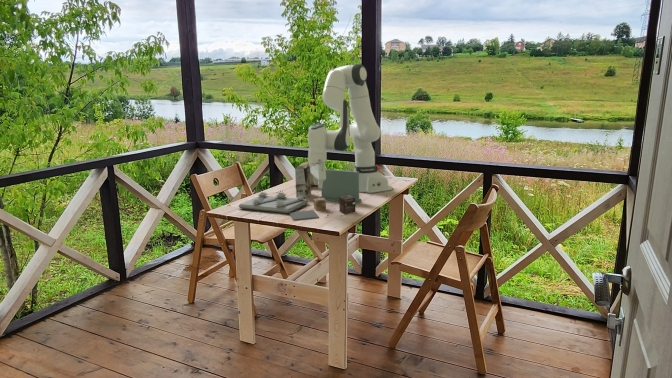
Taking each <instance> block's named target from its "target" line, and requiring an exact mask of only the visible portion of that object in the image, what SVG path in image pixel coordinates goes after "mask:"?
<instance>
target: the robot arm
mask: <svg viewBox="0 0 672 378" xmlns="http://www.w3.org/2000/svg"><path fill="white" fill-rule="evenodd" d="M367 77H368V71H367V69H366V67H365V66H364V65H363V64H360V63H355V64H346V65H342V66H337V67H333V68H332V69H330V70H329V71H328V73H327V76H326V79H325V82H324V86H323V90H322V97H321V98H322V101H323V103H324V104H325V106H326V107H328V108H329V109H332V110H333V111H335V112H338V113H339V128H338V129H336V130H335V129H334V130H333V129H327V128H326V126H325V124H322V123H316V124H311V125H310V126H309V127H308V132H307V133H308V134H307V145H308V150H307V151H308V153H307V160H308V162H309V165H310V172H311V174H312V175H313V178H314V184H315V185H317V187H318V189H321V188H322V185H323V181H324V180H326V164H325V163H327V162H328V161H327V160H328V159H327V153H328V152H327V150H328V151H330V150H332V151H339V152H344V151H346V150H347V149H348V148H349V147H350V145H351V139H352V144H353V148H354V158H355V159H354V161H355V164H354V169H353V170H354V171H356V172H359V193H367V194H372V193H378V192H379V193H380V192H387V191H393V186H392V185H391V184H389V179H388V177H386V176H385V175H383V174H382V173H381V172H379V171H380V170H381V168H382V167H381V166H379V165H376V164H375V163H376V155H375V153H376V152H375V150H374V148H373V145H372V143H374V142H377V140H379V139H380V137H381V134H382V133H381V132H382V130H381V128H380V126H379V124H378V123H377V121H376V119H375V116H374V113H373V111H372V106H371V105H372V104H371V100H370V95H369V89H368V85H367ZM346 88H347V93H348V100H346V96H345V94H346ZM348 101H349V102H348ZM350 112H351V114H352V115H353V117H354V119H355V121H353V122H352V123H351V124H350V117H351V116H350ZM315 185H314V186H315Z"/></svg>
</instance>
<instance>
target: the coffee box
mask: <svg viewBox="0 0 672 378" xmlns="http://www.w3.org/2000/svg"><path fill="white" fill-rule="evenodd" d="M294 170H295V171H294V172H295V173H294V174H295V175H294V176H295V193H296V195H295V197H296V198H298V197H300V196H301V195H302V196H303V197H304V198H308V197H309V196H310V195H311V194H312V186H311V181H310V166H300V165H298V166H297V167H295V168H294ZM297 196H298V197H297ZM303 197H302V198H303Z"/></svg>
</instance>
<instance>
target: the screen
mask: <svg viewBox="0 0 672 378" xmlns="http://www.w3.org/2000/svg"><path fill="white" fill-rule="evenodd" d="M320 192H321V196H319V198H324V199H325V200H326V201H331V202H338V203H339V197H342V196H352V197H354V198H355V205H356V203H357V204H358V202H359V203H361V202H362V198H360V192H359V172H356V171H353V170H342V169H329V168H328V169H326V180H324V181H323V185H322V188H321V191H320Z"/></svg>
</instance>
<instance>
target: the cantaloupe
mask: <svg viewBox="0 0 672 378" xmlns="http://www.w3.org/2000/svg"><path fill="white" fill-rule="evenodd" d="M299 166H310V165H309V161H304V162H302V163H300V164H299ZM310 181H311V187H312V186H315V184H314V178H313V175H312V174H311V172H310Z"/></svg>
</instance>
